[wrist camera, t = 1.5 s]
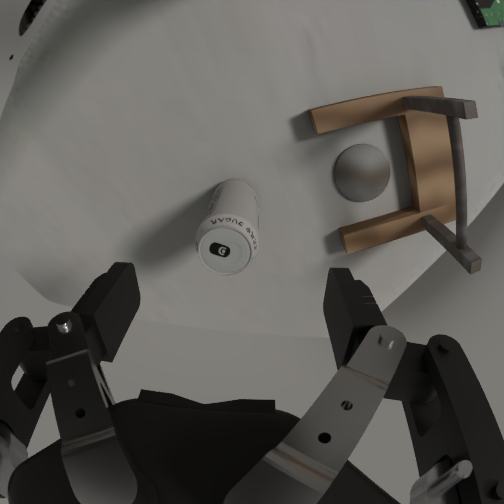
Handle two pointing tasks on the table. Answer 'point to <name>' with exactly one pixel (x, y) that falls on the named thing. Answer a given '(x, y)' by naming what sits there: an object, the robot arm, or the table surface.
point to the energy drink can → (229, 228)
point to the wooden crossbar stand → (419, 167)
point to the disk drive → (487, 12)
